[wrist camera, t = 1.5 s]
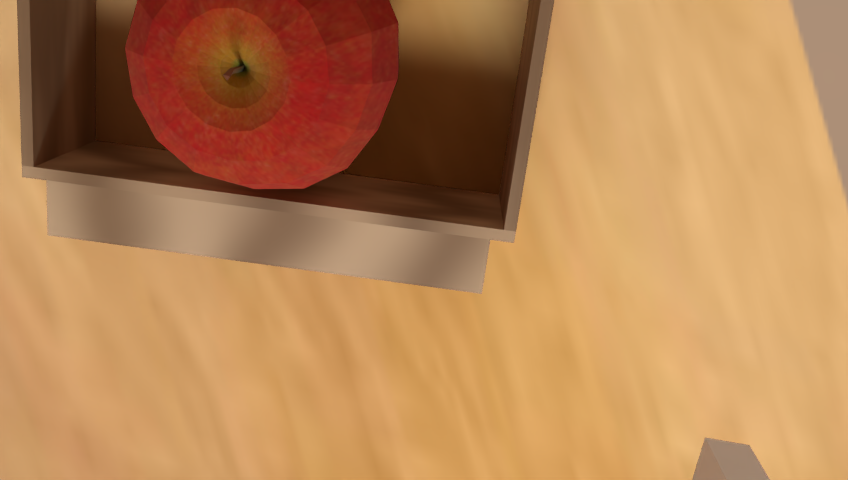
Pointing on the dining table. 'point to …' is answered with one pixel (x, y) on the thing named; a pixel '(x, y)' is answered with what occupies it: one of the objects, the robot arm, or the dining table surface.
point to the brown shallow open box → (242, 206)
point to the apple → (263, 84)
